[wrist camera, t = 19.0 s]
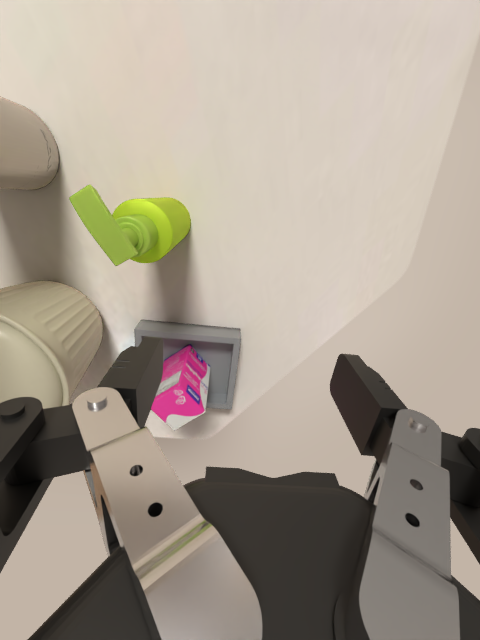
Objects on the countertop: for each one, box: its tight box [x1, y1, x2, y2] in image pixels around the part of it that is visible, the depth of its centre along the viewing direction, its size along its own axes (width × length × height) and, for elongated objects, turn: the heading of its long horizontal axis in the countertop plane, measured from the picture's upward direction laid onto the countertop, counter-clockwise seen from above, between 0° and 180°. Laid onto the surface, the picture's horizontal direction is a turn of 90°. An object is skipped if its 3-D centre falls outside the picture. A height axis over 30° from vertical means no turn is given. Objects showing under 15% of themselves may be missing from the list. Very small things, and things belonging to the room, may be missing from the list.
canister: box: [0, 281, 103, 409], centre depth 34 cm, size 18×18×21 cm
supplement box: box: [151, 344, 210, 431], centre depth 42 cm, size 6×6×12 cm
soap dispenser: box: [69, 185, 191, 266], centre depth 29 cm, size 6×7×20 cm
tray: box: [134, 320, 241, 409], centre depth 46 cm, size 16×14×4 cm
